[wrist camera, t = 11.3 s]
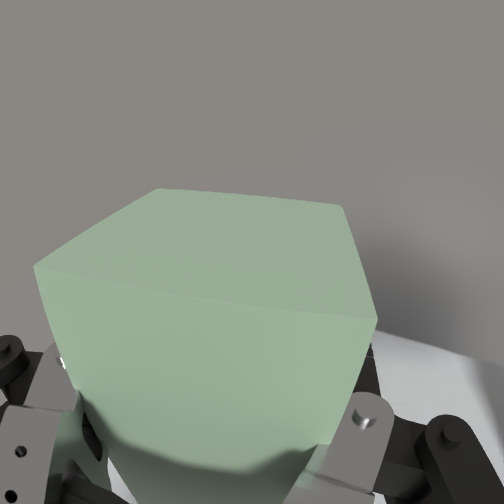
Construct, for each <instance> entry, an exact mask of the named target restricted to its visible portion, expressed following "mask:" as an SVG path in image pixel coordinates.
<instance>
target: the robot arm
mask: <svg viewBox="0 0 504 504" xmlns="http://www.w3.org/2000/svg"><path fill="white" fill-rule="evenodd" d="M371 347H372V345H371V342H370V345H369V348H368V351H367V354H366V357H365V360H364V363H363V365H362V368H361V371H360V374H359V376H358V379H357V382H356V384H355V387H354V389H353V392H352V394H351V397H350V399H349V402H348V404H347V407H346V409H345V412H344V414H343V416H342V419H341V421H340V423H339V426H338V428H337V430H336V432H335V435H334V437H333V439H332V441H331V443H330V444H318V446H317V447H316V449H315V451H314V453H313V455H312V457H311V459H310V461H309V462H308V464H307V466H306V468H305V469H304V470H303V471H302V472H301V474H300V475H299V477H298V479H297V480H296V482H295V484H294V485H293V487H292V489H291V490H290V492H289V494H288V495H287V497H286V499H285V500H284V502H283V503H282V504H373V503H374V498H375V495H374V493H372V492H376V493H379V494H383V495H384V498H385V500H386V503H387V504H504V487H503V485H502V483H501V481H500V479H499V477H498V475H497V473H496V471H495V469H494V468H493V466H492V464H491V462H490V460H489V458H488V457H487V455H486V453H485V451H484V449H483V448H482V446H481V444H480V442H479V441H478V439H477V437H476V435H475V434H474V432H473V430H472V429H471V427H470V426H469V425H468V424H467V423H466V422H465V421H464V420H463V419H461V418H459V417H457V416H453V415H439V416H437V417H435V418H433V419H432V420H431V421H430V422H429V423H428V425H423V424H419V423H415V422H412V421H408V420H405V419H402V418H400V417H398V416H396V415H394V412H393V409H392V407H391V406H390V405H389V403H388V402H387V401H386V400H384V399H383V398H382V397H381V394H380V388H379V382H378V377H377V371H376V366H375V361H374V359H373V356H374V355H373V350H372V348H371ZM0 389H1V390H2V391H3V393H4V395H5V397H6V398H7V400H8V401H6V402H5V403H4V404H3V405H2V406H0V504H129V503H128V502H126V501H125V500H123V499H122V498H120V497H119V496H117V495H116V494H115V493H113V492H112V489H111V482H110V479H109V475H108V469H107V464H108V452H109V450H108V448H107V446H106V444H105V442H104V441H102V440H100V439H98V437H97V435H96V433H95V431H94V429H93V427H92V425H91V423H90V421H89V419H88V417H87V415H86V413H85V411H84V408H85V402H84V400H83V397H82V395H81V393H80V391H79V390H78V389H75V388H74V387H73V385H72V383H71V380H70V378H69V376H68V373H67V371H66V368H65V366H64V363H63V361H62V358H61V355H60V353H59V350H58V347H57V345H56V342H55V343H54V344H52V345H50V346H49V347H48V348H47V349H46V350H45V352H44V353H42V352H28V351H25V349H24V346H23V344H22V342H21V340H20V339H19V338H18V337H16V336H13V335H4V336H1V337H0Z"/></svg>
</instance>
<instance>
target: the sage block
mask: <svg viewBox="0 0 504 504" xmlns="http://www.w3.org/2000/svg"><path fill="white" fill-rule="evenodd" d="M33 268H34V272H35V276H36V280H37V283H38V287H39V291H40V294H41V298H42V301H43V305H44V308H45V311H46V315H47V318H48V321H49V324H50V327H51V330H52V333H53V336H54V339H55V342H56V345H57V347H58V350H59V353H60V355H61V358H62V361H63V363H64V366H65V368H66V371H67V373H68V376H69V378H70V380H71V383H72V385H73V387H74V388H75V389H78V390H79V391H80V393H81V395H82V397H83V400H84V402H85V408H84V411H85V413H86V415H87V417H88V419H89V421H90V423H91V425H92V427H93V429H94V431H95V433H96V435H97V437H98V439H100V440H102V441H104V442H105V444H106V446H107V448H108V450H109V452H108V456H109V458H110V460H111V462H112V463H113V465H114V467H115V468H116V470H117V472H118V473H119V475H120V476H121V478H122V480H123V481H124V483H125V484H126V486H127V487H128V489H129V490H130V492H131V493H132V495H133V496H134V498H135V499H136V501H137V502H138V503H139V504H282V503H283V502H284V500H285V499H286V497H287V495H288V494H289V492H290V490H291V489H292V487H293V485H294V484H295V482H296V480H297V479H298V477H299V475H300V474H301V472H302V471H303V470H304V469H305V468H306V466H307V464H308V462H309V461H310V459H311V457H312V455H313V453H314V451H315V449H316V447H317V446H318V444H330V443H331V441H332V439H333V437H334V435H335V432H336V430H337V428H338V426H339V423H340V421H341V419H342V416H343V414H344V412H345V409H346V407H347V404H348V402H349V399H350V397H351V394H352V392H353V389H354V387H355V384H356V382H357V379H358V376H359V374H360V371H361V368H362V365H363V363H364V360H365V357H366V354H367V351H368V348H369V345H370V342H371V339H372V336H373V333H374V330H375V327H376V324H377V321H378V318H377V314H376V311H375V307H374V304H373V300H372V297H371V293H370V290H369V287H368V283H367V280H366V277H365V274H364V271H363V267H362V264H361V261H360V258H359V255H358V252H357V249H356V246H355V243H354V240H353V237H352V234H351V231H350V228H349V225H348V223H347V220H346V217H345V214H344V211H343V209H342V206H341V205H334V204H326V203H317V202H310V201H301V200H292V199H283V198H272V197H263V196H253V195H241V194H230V193H218V192H206V191H205V192H204V191H191V190H177V189H160V188H158V189H156V190H154V191H152V192H150V193H149V194H147V195H145V196H143V197H142V198H140V199H138V200H136V201H135V202H133V203H131V204H130V205H128V206H126V207H124V208H122V209H121V210H119V211H117V212H116V213H114V214H112V215H111V216H109V217H107V218H106V219H104V220H102V221H101V222H99V223H98V224H96V225H94V226H93V227H91V228H90V229H88V230H86V231H85V232H83V233H82V234H80V235H78V236H77V237H75V238H74V239H72V240H71V241H69V242H68V243H66V244H65V245H63V246H62V247H60V248H59V249H57V250H56V251H54V252H53V253H51V254H50V255H48V256H47V257H45V258H44V259H43V260H41V261H39V262H38V263H37V264H35V265H34V266H33Z"/></svg>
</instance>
